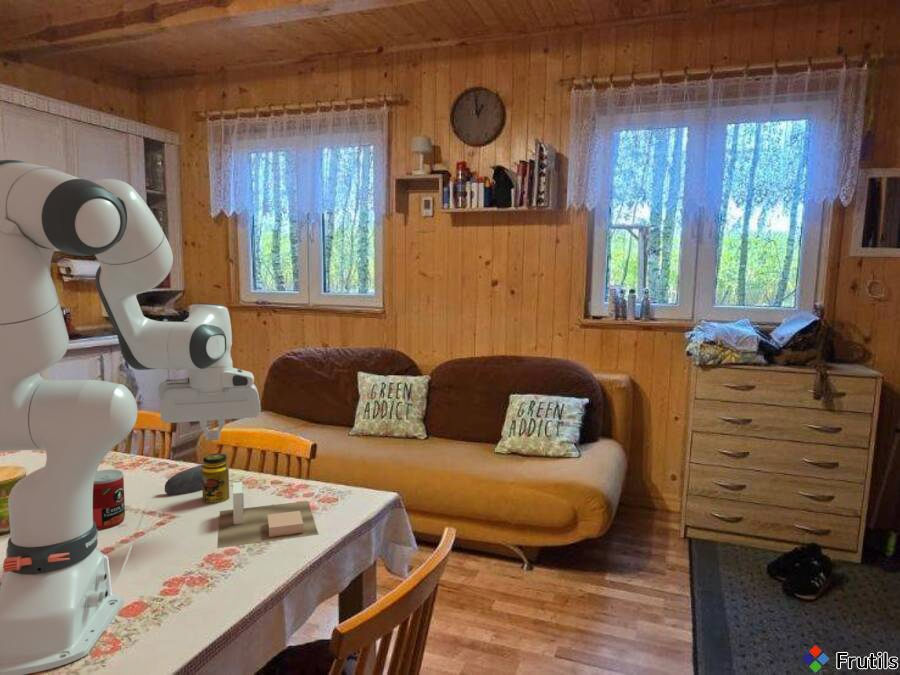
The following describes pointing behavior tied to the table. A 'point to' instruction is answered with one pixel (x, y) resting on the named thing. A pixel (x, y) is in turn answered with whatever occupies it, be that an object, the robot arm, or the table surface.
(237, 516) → the cream tile
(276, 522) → the terracotta tile
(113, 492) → the canned food
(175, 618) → the table surface
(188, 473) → the perforated stone tool
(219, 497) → the condiment
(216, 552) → the table surface
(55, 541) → the robot arm
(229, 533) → the walnut board
